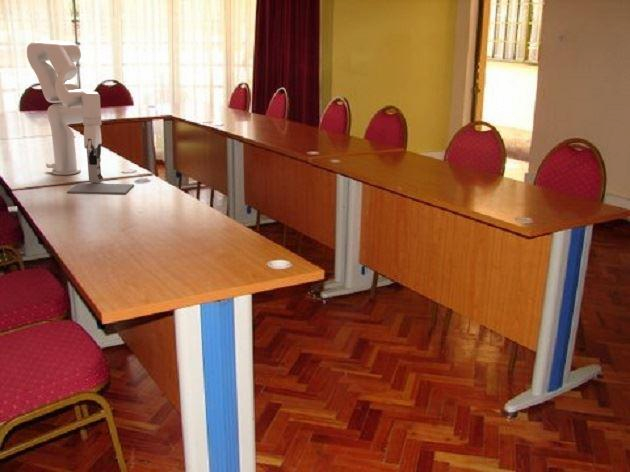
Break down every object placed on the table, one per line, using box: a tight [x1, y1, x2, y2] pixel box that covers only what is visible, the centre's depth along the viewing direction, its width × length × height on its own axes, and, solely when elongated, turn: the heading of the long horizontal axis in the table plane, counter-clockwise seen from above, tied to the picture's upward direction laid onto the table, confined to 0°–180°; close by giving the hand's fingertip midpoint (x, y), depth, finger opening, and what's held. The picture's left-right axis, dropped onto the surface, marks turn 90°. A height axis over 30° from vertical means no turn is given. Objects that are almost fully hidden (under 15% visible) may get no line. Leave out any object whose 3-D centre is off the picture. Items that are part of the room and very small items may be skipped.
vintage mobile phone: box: [86, 143, 104, 184], centre depth 290 cm, size 4×5×25 cm
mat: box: [66, 182, 135, 195], centre depth 284 cm, size 24×14×1 cm, turn 90°
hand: (95, 162), depth 292 cm, fingers closed on vintage mobile phone, 4 cm apart
